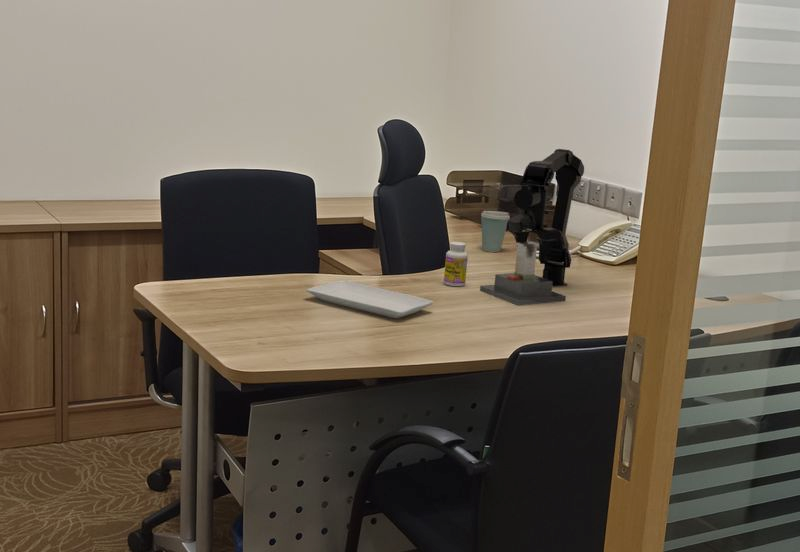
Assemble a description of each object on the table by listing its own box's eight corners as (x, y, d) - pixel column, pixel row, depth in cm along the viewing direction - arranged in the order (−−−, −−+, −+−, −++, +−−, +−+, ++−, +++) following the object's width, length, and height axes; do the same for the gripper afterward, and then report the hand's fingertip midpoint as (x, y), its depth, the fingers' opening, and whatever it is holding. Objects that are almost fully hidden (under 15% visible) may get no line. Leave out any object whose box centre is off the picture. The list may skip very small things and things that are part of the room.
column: (527, 276, 278) (530, 241, 276) (536, 279, 275) (540, 243, 272) (511, 277, 275) (515, 241, 273) (520, 280, 272) (524, 244, 269)
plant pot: (518, 248, 353) (523, 207, 350) (525, 242, 368) (529, 202, 365) (561, 254, 349) (566, 211, 345) (566, 247, 364) (571, 206, 360)
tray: (399, 324, 236) (400, 311, 235) (303, 300, 253) (304, 288, 252) (434, 313, 250) (435, 300, 249) (341, 291, 266) (342, 279, 266)
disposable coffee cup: (472, 248, 348) (476, 208, 344) (497, 247, 352) (500, 208, 349) (486, 253, 338) (490, 213, 335) (511, 253, 343) (515, 213, 340)
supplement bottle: (439, 284, 283) (443, 243, 280) (448, 280, 289) (452, 240, 286) (459, 288, 280) (463, 246, 277) (468, 284, 286) (472, 243, 283)
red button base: (526, 287, 288) (528, 267, 287) (565, 301, 273) (567, 280, 272) (479, 290, 279) (481, 270, 277) (517, 305, 264) (520, 284, 263)
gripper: (494, 201, 275) (489, 253, 278) (535, 211, 259) (529, 266, 263) (523, 200, 280) (518, 251, 284) (565, 211, 265) (559, 264, 269)
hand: (530, 258), depth 275 cm, fingers open, 9 cm apart
